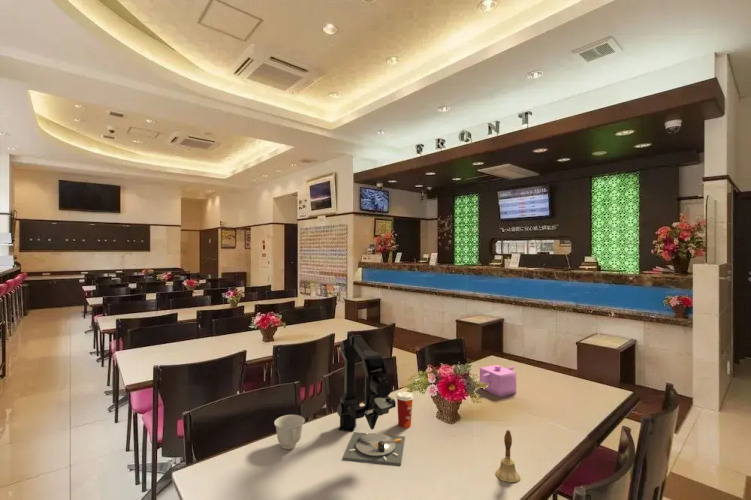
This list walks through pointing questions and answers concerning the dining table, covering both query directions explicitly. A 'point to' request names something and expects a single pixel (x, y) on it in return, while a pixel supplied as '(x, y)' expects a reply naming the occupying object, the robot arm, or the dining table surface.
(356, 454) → the grey dial base plate
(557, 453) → the dining table surface
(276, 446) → the dining table surface
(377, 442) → the dial
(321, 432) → the dining table surface
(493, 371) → the teapot
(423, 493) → the dining table surface
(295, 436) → the teacup
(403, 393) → the paper cup
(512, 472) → the hand bell
